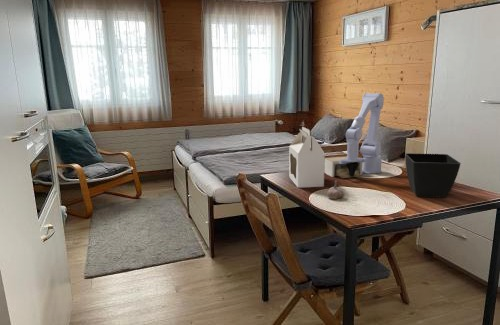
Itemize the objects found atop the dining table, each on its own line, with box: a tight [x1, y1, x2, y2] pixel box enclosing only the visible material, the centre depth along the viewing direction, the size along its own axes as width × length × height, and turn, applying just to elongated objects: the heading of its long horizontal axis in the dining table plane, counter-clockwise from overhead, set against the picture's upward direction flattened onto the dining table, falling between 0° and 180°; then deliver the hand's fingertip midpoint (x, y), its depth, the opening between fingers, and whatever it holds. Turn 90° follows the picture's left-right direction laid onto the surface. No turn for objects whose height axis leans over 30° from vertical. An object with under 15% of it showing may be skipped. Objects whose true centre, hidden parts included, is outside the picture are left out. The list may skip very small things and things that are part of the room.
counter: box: [324, 155, 363, 178], centre depth 212 cm, size 18×10×9 cm, turn 104°
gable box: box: [288, 126, 325, 189], centre depth 195 cm, size 22×13×28 cm, turn 5°
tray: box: [334, 165, 360, 179], centre depth 209 cm, size 12×11×5 cm
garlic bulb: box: [326, 180, 345, 200], centre depth 169 cm, size 8×7×8 cm
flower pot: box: [404, 152, 461, 199], centre depth 172 cm, size 19×19×17 cm
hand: (351, 176), depth 203 cm, fingers closed, pressing on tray
